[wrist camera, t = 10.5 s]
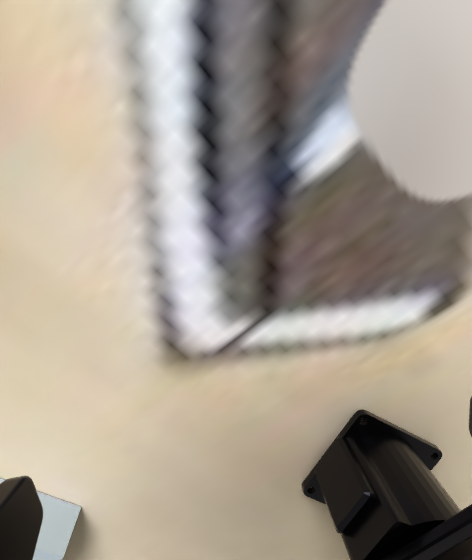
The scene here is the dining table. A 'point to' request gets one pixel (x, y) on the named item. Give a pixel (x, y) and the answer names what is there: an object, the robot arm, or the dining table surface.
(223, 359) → the dining table surface
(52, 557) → the frame
